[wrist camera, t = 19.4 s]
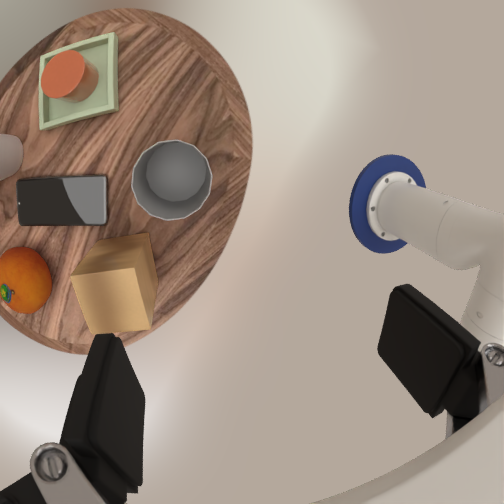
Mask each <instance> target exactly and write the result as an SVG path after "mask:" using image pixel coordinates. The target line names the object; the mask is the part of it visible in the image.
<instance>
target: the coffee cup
mask: <svg viewBox="0 0 504 504" xmlns="http://www.w3.org/2000/svg"><path fill="white" fill-rule="evenodd" d="M22 161H23V146H22V143H21V141H20V139H19V138H18V137H16V136H14V135H7V134H0V181H1V180H3V179H5V178H7V177H10V176H12V175H14V174H15V173H16V172H17V171H18V170H19V168H20V166H21V164H22Z"/></svg>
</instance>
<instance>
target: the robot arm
mask: <svg viewBox="0 0 504 504" xmlns="http://www.w3.org/2000/svg"><path fill="white" fill-rule="evenodd" d="M366 211H367V219H368V223H369V226H370V228H371V229H372V231H373V232H374V233H375V234H376V235H377V236H378V237H380V238H382V239H384V240H389V241H392V240H397V239H399V238H400V239H402V240H403V241H405V242H407V243H409V244H411V245H412V246H414V247H416V248H418V249H419V250H421V251H423V252H425V253H426V254H428V255H429V256H431V257H433V258H435V259H436V260H438V261H440V262H441V263H443V264H445V265H446V266H448V267H450V268H452V269H456V270H466V269H470V268H473V267H476V266H478V265H480V270H479V274H478V276H477V280H476V283H475V286H474V289H473V292H472V294H471V297H470V299H469V302H468V304H467V306H466V309H465V311H464V314H463V317H462V320H461V323H460V324H459V323H458V322H457V321H456V320H454V319H453V318H452V317H451V316H450V315H448V314H447V313H446V312H444V311H443V310H442V309H441V308H440V307H438V306H437V305H436V304H435V303H433V302H432V301H431V300H430V299H428V298H427V297H426V296H424V295H423V294H422V293H421V292H419V291H418V290H417V289H415V288H414V287H413V286H411V285H410V284H404V285H400V286H397V287H395V288H394V289H393V291H392V292H391V294H390V297H389V301H388V306H387V311H386V315H385V319H384V324H383V328H382V332H381V336H380V339H379V343H378V348H377V349H378V354H379V355H380V357H381V358H382V359H383V361H384V362H385V363H386V364H387V365H388V367H389V368H390V369H391V370H392V372H393V373H394V374H395V375H396V377H397V378H398V379H399V380H400V381H401V383H402V384H403V385H404V387H405V388H406V389H407V390H408V392H409V393H410V394H411V395H412V397H413V398H414V399H415V400H416V402H417V403H418V404H419V406H420V407H421V408H422V410H423V411H424V412H425V413H429V415H430V416H431V417H432V418H434V417H435V416H437V415H438V414H440V413H442V412H443V410H444V409H446V410H447V427H446V439H445V440H444V441H442V442H441V443H439V444H438V445H436V446H435V447H433V448H432V449H430V450H428V451H427V452H425V453H423V454H422V455H420V456H418V457H417V458H415V459H413V460H411V461H410V462H408V463H406V464H404V465H402V466H401V467H399V468H397V469H395V470H393V471H391V472H389V473H387V474H385V475H383V476H381V477H379V478H376V479H374V480H372V481H370V482H368V483H365V484H363V485H361V486H358V487H356V488H354V489H351V490H348V491H346V492H343V493H341V494H338V495H335V496H333V497H329V498H327V499H323V500H320V501H318V502H314V503H311V504H504V214H502V213H499V212H495V211H492V210H488V209H485V208H483V207H480V206H477V205H474V204H471V203H468V202H466V201H463V200H460V199H457V198H454V197H451V196H448V195H445V194H442V193H439V192H436V191H433V190H429V189H426V188H423V187H420V186H417V185H416V183H415V181H414V180H413V179H412V178H411V177H410V176H409V175H407V174H405V173H402V172H396V171H393V172H389V173H387V174H385V175H383V176H382V177H381V178H379V179H378V180H377V182H376V183H375V184H374V186H373V188H372V189H371V192H370V194H369V197H368V201H367V209H366ZM144 414H145V395H144V392H143V390H142V388H141V385H140V383H139V381H138V379H137V377H136V375H135V372H134V370H133V368H132V365H131V363H130V361H129V358H128V356H127V354H126V351H125V348H124V346H123V343H122V341H121V339H120V338H119V337H115V335H114V334H113V333H106V334H96V335H95V337H94V340H93V342H92V345H91V348H90V351H89V353H88V356H87V359H86V362H85V365H84V368H83V371H82V374H81V375H80V376H79V377H78V379H77V381H76V385H75V388H74V391H73V394H72V398H71V401H70V404H69V408H68V412H67V415H66V419H65V423H64V427H63V431H62V434H61V439H60V443H59V444H57V443H45V444H43V445H40V446H39V447H38V448H37V449H36V450H35V451H34V452H33V454H32V456H31V459H30V469H31V472H30V473H29V474H27V475H26V476H24V477H23V478H21V479H20V480H18V481H16V482H15V483H13V484H12V485H10V486H8V487H7V488H5V489H3V490H2V491H0V504H127V503H126V501H127V493H138V486H141V485H142V483H143V477H142V476H143V432H144Z"/></svg>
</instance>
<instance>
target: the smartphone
mask: <svg viewBox="0 0 504 504" xmlns="http://www.w3.org/2000/svg"><path fill="white" fill-rule="evenodd" d="M16 193H17V209H18V220H19V224H20V225H21V226H105V225H106V224H107V222H108V179H107V176H106V175H104V174H97V175H68V176H46V177H32V178H24V179H19V180H17V182H16Z"/></svg>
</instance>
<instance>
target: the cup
mask: <svg viewBox="0 0 504 504" xmlns="http://www.w3.org/2000/svg"><path fill="white" fill-rule="evenodd" d="M211 183H212V173H211V169H210V166H209V163H208V160H207V158H206V157H205V156H204V155H203V154H202V153H201V152H200V151H199V150H198V149H197V148H196V147H195V146H194V145H192V144H189V143H186V142H183V141H180V140H169V141H162V142H157V143H156V144H154V145H153V146H151V147H150V148H148V149H147V150H145V151H144V152H142V154H141V156H140V157H139V159H138V161H137V162H136V164H135V166H134V167H133V173H132V183H131V187H132V190H133V193H134V195H135V198H136V201H137V203H138V204H139V205H140V206H141V207H142V208H143V209H144V210H145V211H146V212H147V213H148V214H149V215H151V216H154V217H157V218H160V219H163V220H166V221H169V220H177V219H184V218H186V217H188V216H189V215H191V214H193V213H194V212H196V211H197V210H199V209H200V208H201V206H202V205H203V203H204V202H205V200H206V199H207V197H208V196H209V194H210V189H211Z"/></svg>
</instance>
